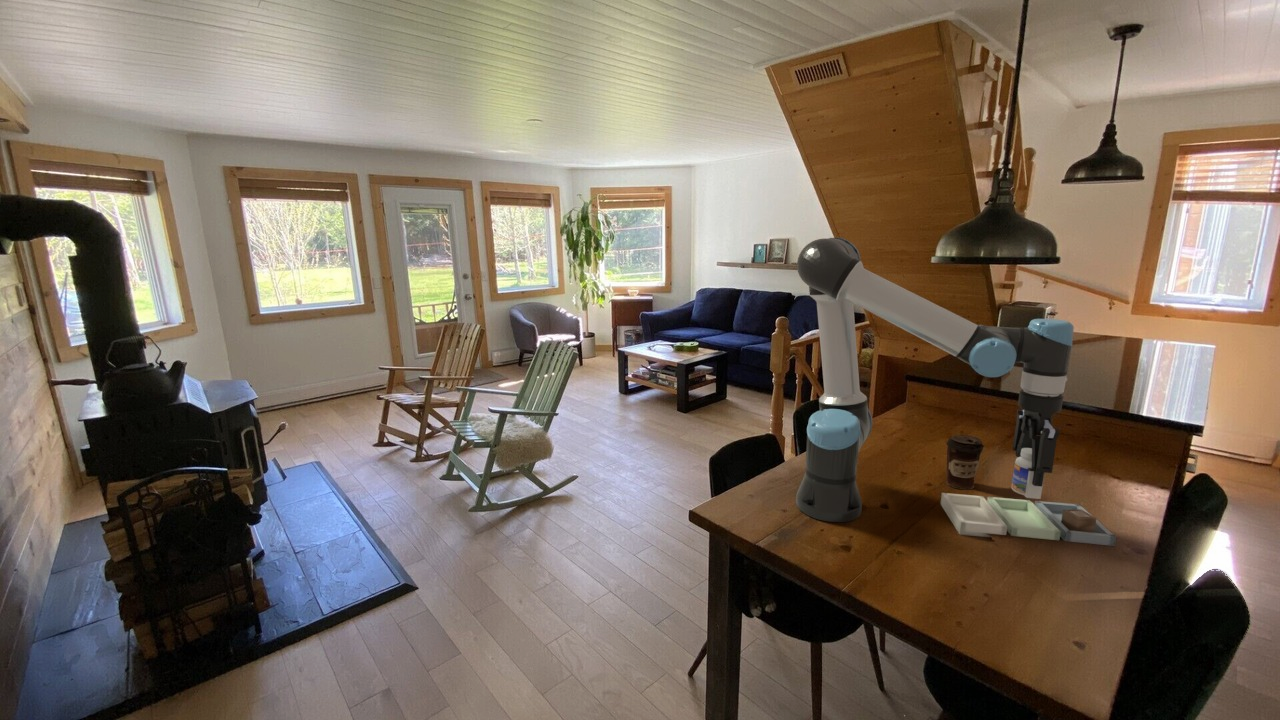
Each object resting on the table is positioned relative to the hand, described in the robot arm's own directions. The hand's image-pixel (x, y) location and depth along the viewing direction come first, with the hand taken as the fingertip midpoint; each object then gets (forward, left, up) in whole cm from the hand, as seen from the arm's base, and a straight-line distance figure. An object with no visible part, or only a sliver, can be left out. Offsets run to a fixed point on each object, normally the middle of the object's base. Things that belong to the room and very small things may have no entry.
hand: (1026, 491), depth 119 cm
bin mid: (0, 0, -9) cm, 9 cm away
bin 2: (+10, 0, -9) cm, 13 cm away
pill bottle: (0, 0, 0) cm, 0 cm away
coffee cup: (-7, +19, -9) cm, 22 cm away
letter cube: (+10, -2, -8) cm, 13 cm away
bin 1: (-10, 0, -9) cm, 13 cm away
